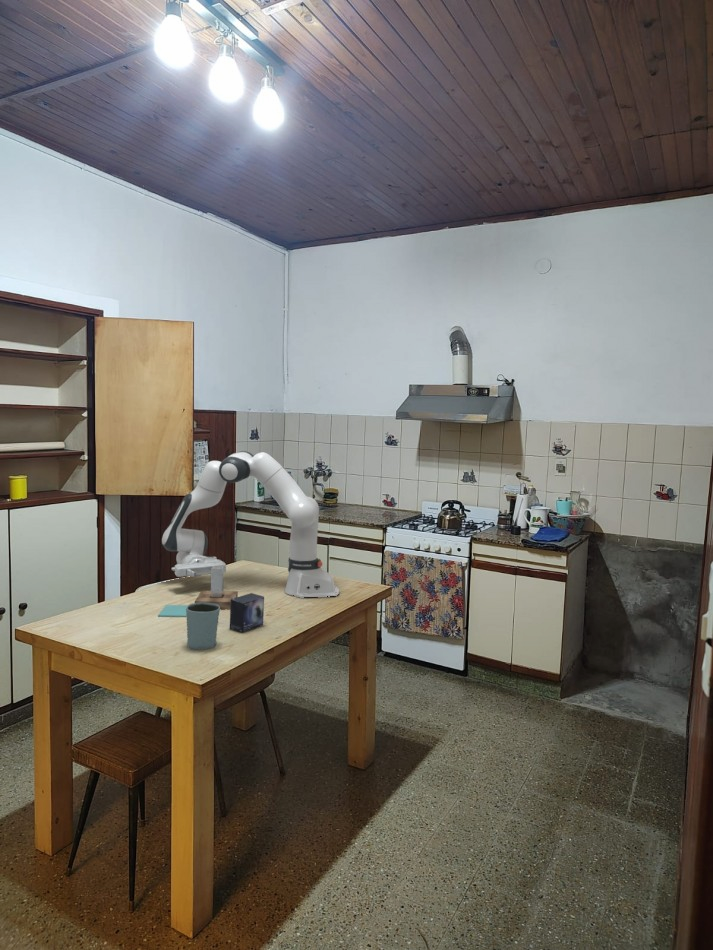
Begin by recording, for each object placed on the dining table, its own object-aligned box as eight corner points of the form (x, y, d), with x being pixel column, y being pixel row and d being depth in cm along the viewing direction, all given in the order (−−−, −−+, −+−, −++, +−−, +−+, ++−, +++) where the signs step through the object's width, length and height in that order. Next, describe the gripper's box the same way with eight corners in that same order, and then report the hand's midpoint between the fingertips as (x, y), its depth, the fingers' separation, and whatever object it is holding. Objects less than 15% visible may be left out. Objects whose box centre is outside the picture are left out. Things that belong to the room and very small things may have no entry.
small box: (242, 634, 201) (243, 602, 200) (228, 629, 204) (229, 599, 203) (264, 625, 210) (265, 595, 209) (250, 621, 213) (251, 592, 212)
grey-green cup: (181, 642, 191) (181, 604, 190) (211, 636, 197) (212, 600, 196) (192, 652, 183) (193, 613, 182) (224, 646, 189) (225, 608, 188)
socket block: (237, 598, 239) (237, 591, 239) (233, 609, 225) (233, 601, 225) (201, 598, 238) (201, 590, 238) (194, 609, 224) (194, 601, 224)
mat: (198, 606, 227) (198, 605, 227) (192, 617, 215) (192, 615, 215) (165, 606, 226) (165, 605, 226) (157, 616, 214) (157, 615, 214)
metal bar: (222, 602, 234) (223, 566, 233) (221, 605, 230) (222, 569, 229) (212, 602, 234) (212, 566, 232) (210, 605, 230) (211, 568, 228)
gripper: (170, 560, 247) (180, 567, 235) (219, 556, 258) (230, 563, 246) (170, 575, 247) (179, 583, 236) (218, 570, 258) (230, 578, 247)
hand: (206, 573), depth 241 cm, fingers open, 8 cm apart
